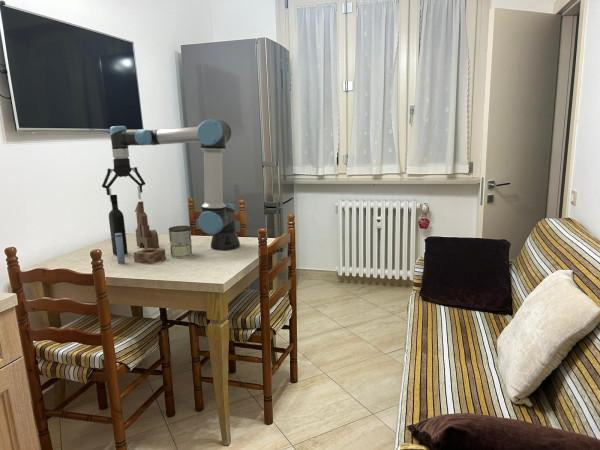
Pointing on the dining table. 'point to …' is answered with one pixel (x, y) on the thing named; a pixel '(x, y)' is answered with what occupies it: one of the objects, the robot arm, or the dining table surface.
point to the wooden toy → (145, 230)
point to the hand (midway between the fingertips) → (125, 200)
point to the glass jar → (180, 241)
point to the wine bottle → (117, 224)
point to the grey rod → (119, 248)
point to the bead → (149, 255)
